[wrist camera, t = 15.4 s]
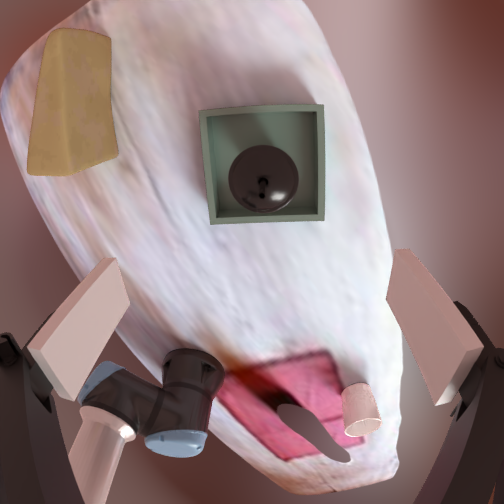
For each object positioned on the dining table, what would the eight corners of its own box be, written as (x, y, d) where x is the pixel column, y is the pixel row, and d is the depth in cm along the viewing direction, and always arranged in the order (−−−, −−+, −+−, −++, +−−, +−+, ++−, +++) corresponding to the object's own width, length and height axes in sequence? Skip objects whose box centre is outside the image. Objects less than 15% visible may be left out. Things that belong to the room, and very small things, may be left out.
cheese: (86, 42, 35) (32, 30, 21) (132, 34, 35) (84, 14, 21) (76, 157, 45) (23, 177, 31) (120, 158, 45) (69, 178, 31)
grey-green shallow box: (215, 213, 48) (210, 224, 44) (206, 111, 41) (198, 110, 36) (319, 210, 47) (324, 220, 43) (317, 105, 40) (323, 104, 35)
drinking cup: (295, 178, 44) (313, 225, 26) (247, 190, 45) (233, 244, 27) (283, 130, 41) (294, 142, 23) (233, 143, 42) (206, 166, 24)
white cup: (336, 386, 67) (343, 424, 56) (372, 377, 65) (382, 414, 54) (340, 404, 71) (345, 439, 60) (372, 396, 69) (381, 430, 58)
